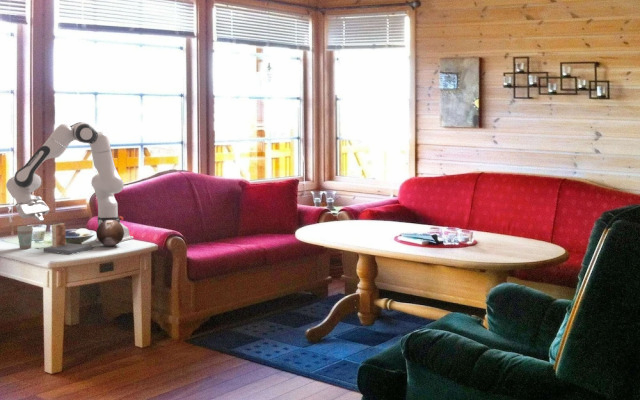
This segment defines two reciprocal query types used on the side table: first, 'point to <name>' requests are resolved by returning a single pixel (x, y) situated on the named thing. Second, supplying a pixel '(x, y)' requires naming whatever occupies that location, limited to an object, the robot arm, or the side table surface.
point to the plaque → (58, 235)
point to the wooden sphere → (110, 232)
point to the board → (68, 248)
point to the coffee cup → (25, 236)
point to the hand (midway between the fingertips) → (41, 220)
